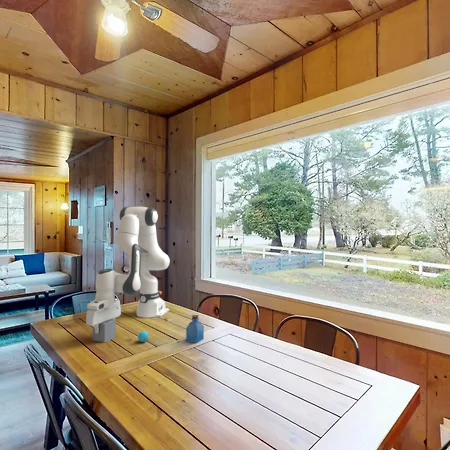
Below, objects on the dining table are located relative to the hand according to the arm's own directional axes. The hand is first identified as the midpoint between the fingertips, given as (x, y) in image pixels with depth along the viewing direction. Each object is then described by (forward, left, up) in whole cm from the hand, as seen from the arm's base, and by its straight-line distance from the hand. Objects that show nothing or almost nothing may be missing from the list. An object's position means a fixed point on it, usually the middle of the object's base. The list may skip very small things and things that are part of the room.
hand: (104, 329), depth 151 cm
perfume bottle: (-16, +42, -5) cm, 45 cm away
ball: (-4, +20, -2) cm, 20 cm away
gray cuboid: (0, 0, -4) cm, 4 cm away
